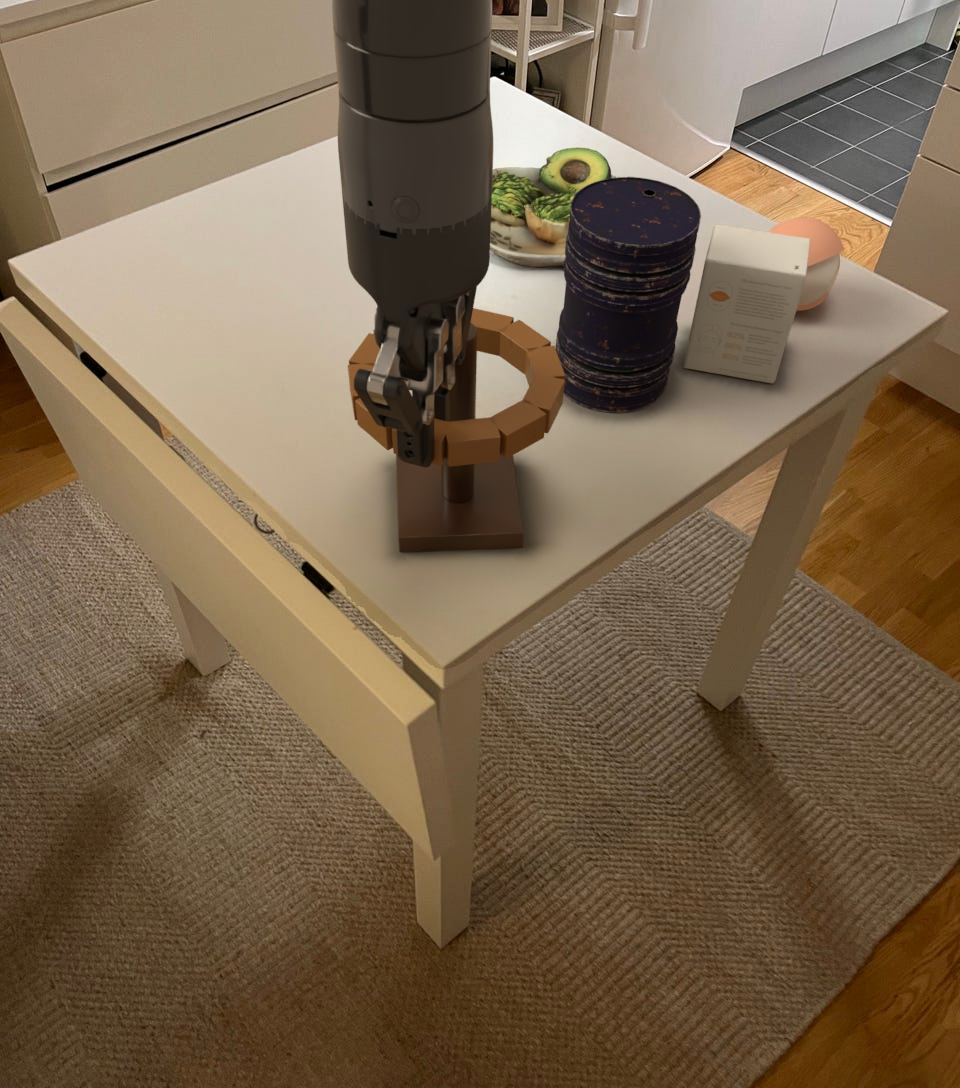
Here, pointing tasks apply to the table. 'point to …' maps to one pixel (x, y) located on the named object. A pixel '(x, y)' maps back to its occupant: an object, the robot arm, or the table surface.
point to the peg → (459, 488)
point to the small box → (746, 302)
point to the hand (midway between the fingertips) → (423, 447)
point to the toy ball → (815, 257)
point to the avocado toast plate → (540, 205)
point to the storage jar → (624, 290)
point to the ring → (504, 428)
